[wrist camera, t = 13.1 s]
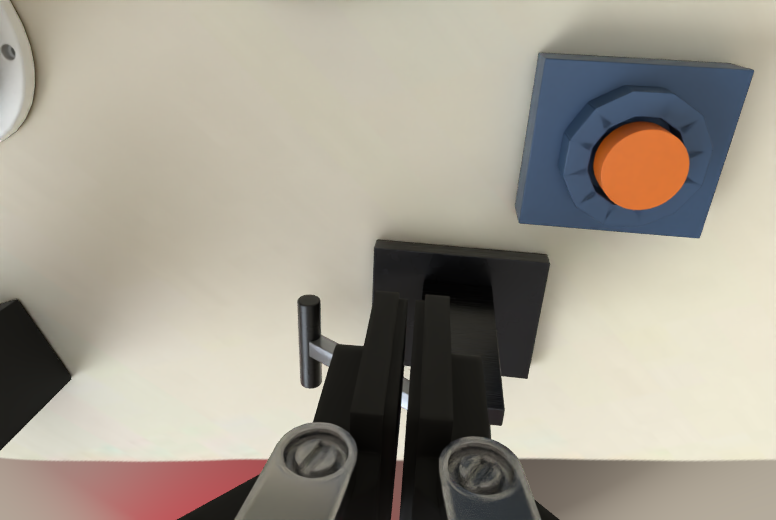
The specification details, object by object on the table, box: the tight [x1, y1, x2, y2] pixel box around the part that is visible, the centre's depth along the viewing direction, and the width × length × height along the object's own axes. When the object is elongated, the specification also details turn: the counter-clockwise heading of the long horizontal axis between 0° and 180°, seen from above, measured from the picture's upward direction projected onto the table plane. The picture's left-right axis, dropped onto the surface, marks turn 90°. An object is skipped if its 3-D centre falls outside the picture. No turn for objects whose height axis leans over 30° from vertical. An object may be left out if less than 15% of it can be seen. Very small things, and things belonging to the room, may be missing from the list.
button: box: [593, 121, 689, 210], centre depth 27 cm, size 4×4×2 cm
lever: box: [297, 295, 410, 410], centre depth 30 cm, size 12×6×2 cm, turn 85°
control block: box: [515, 53, 754, 238], centre depth 29 cm, size 10×9×4 cm
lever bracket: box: [372, 240, 550, 437], centre depth 32 cm, size 11×9×13 cm
